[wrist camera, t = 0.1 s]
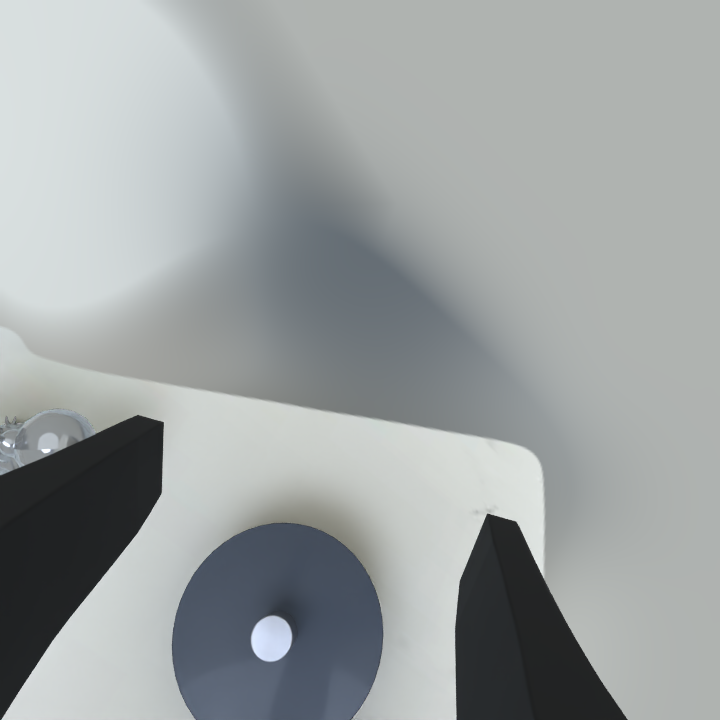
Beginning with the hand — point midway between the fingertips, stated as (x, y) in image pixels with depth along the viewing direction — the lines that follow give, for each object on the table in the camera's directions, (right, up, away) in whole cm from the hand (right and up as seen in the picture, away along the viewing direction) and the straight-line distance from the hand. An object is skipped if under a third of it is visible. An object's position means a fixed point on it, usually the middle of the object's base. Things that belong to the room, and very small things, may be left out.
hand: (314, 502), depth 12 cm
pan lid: (-4, -14, +23) cm, 27 cm away
